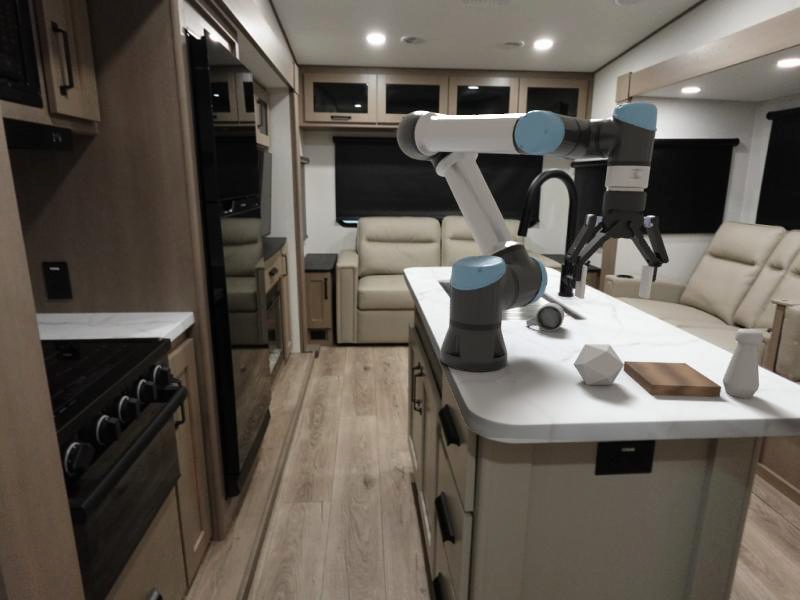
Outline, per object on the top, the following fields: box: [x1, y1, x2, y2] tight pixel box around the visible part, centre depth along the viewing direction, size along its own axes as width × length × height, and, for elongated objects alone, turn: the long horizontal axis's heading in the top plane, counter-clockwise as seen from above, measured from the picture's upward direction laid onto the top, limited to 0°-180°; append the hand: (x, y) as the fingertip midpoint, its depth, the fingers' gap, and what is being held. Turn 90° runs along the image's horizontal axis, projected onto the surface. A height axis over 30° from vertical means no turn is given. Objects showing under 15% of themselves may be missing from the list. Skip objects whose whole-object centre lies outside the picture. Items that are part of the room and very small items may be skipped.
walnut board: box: [623, 361, 722, 398], centre depth 99 cm, size 13×13×2 cm
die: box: [573, 343, 624, 386], centre depth 98 cm, size 8×9×10 cm
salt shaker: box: [722, 328, 764, 399], centre depth 93 cm, size 6×6×13 cm
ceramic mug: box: [525, 302, 565, 332], centre depth 138 cm, size 10×8×7 cm
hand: (611, 297), depth 98 cm, fingers open, 13 cm apart
